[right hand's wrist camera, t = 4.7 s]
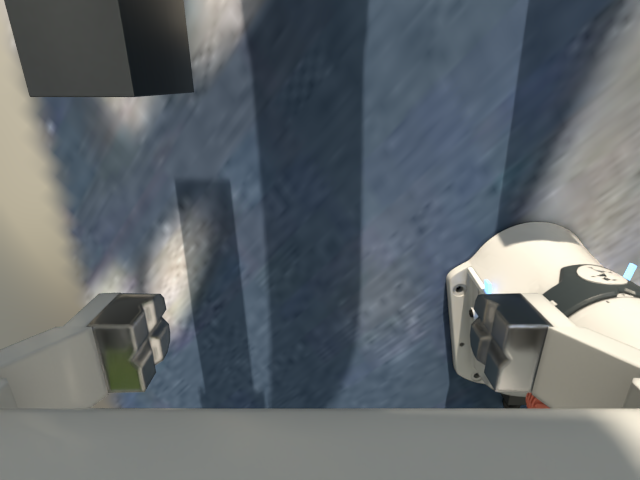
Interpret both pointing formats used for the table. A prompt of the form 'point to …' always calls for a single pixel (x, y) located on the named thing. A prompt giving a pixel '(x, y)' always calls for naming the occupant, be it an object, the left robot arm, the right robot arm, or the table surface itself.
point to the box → (102, 47)
